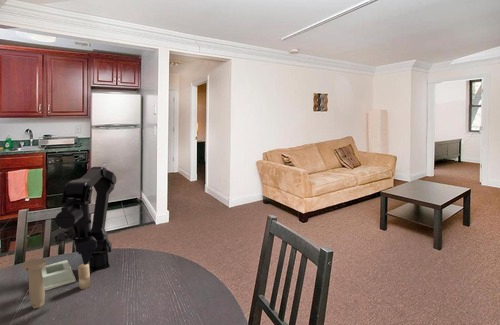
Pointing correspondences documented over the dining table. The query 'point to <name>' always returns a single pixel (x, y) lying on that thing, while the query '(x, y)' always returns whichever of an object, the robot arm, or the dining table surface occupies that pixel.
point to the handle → (35, 281)
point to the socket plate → (57, 275)
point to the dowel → (84, 276)
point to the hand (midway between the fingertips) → (83, 258)
